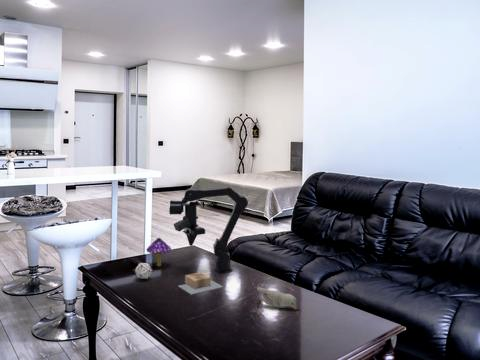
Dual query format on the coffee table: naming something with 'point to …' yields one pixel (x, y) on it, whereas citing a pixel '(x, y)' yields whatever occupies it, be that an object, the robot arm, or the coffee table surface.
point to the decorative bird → (277, 299)
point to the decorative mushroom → (158, 249)
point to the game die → (143, 270)
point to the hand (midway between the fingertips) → (190, 245)
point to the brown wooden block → (197, 280)
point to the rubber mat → (199, 290)
